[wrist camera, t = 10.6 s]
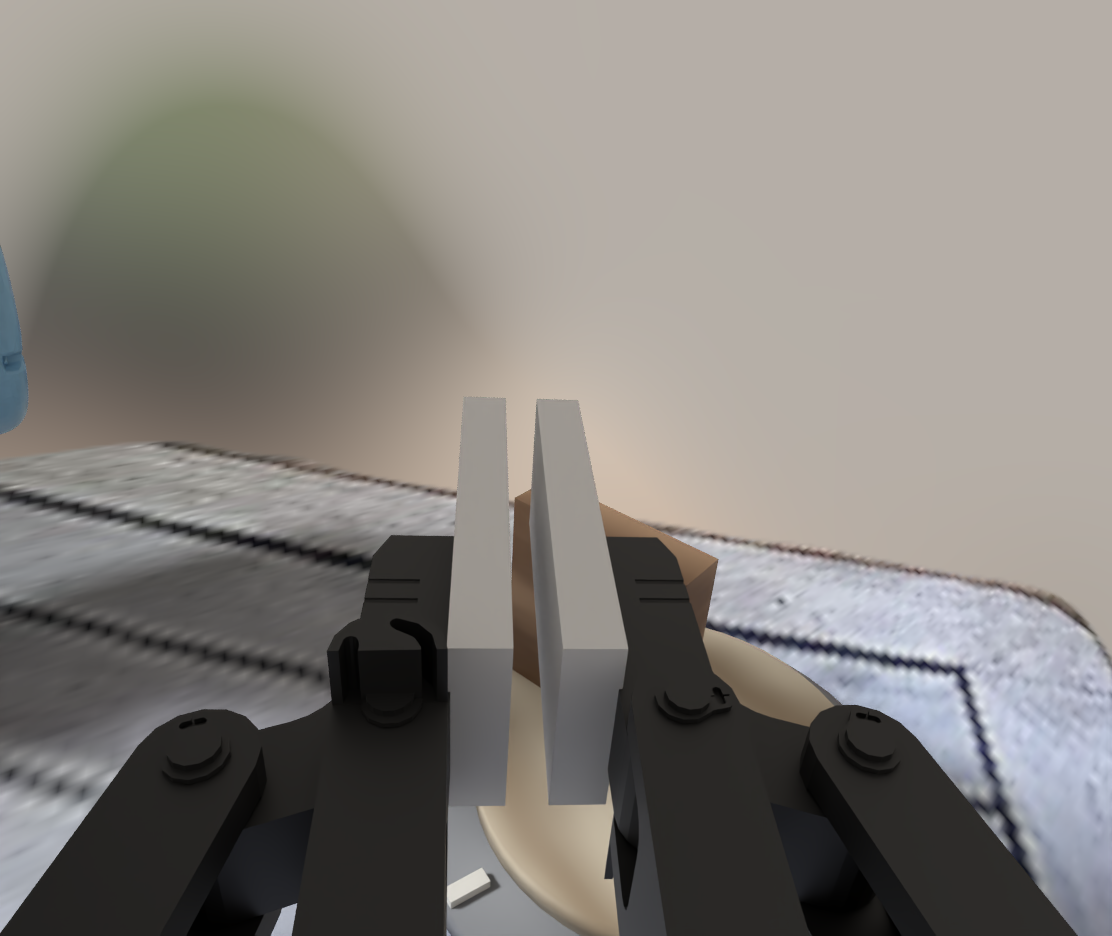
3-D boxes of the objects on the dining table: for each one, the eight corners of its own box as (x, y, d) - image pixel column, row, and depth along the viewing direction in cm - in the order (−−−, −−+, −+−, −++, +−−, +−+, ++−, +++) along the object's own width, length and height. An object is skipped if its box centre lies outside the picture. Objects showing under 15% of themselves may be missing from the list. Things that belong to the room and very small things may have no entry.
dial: (623, 598, 50) (644, 426, 44) (926, 762, 40) (1003, 570, 34) (388, 780, 37) (376, 574, 32) (744, 1080, 28) (818, 862, 22)
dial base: (340, 737, 42) (338, 709, 41) (684, 596, 54) (688, 573, 53) (613, 1231, 26) (619, 1205, 25) (1020, 878, 38) (1035, 851, 37)
